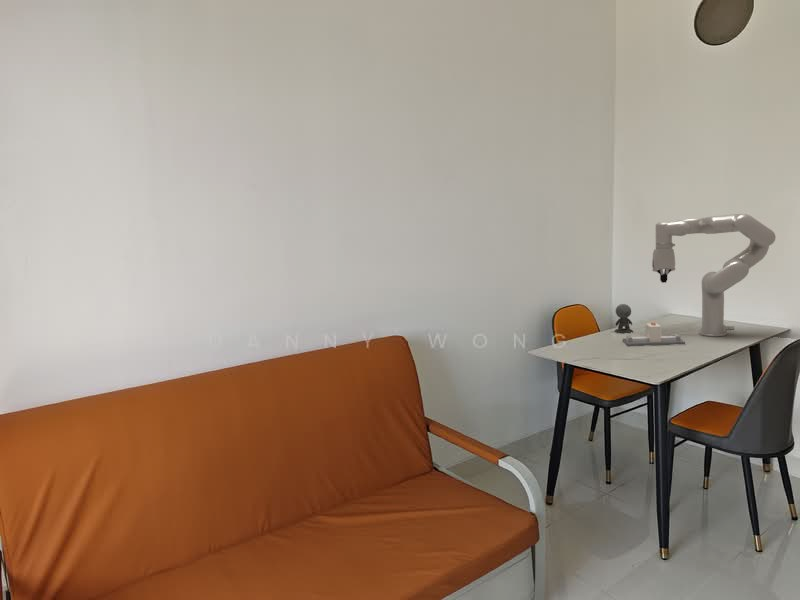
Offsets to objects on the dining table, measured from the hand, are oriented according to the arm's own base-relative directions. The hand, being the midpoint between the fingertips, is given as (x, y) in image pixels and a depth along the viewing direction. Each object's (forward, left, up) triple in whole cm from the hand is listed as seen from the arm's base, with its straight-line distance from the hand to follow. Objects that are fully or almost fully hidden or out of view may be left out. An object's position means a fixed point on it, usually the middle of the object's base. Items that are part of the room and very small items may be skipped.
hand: (663, 282), depth 283 cm
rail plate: (+10, +19, -27) cm, 34 cm away
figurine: (+18, -8, -27) cm, 34 cm away
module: (+10, +18, -26) cm, 33 cm away
